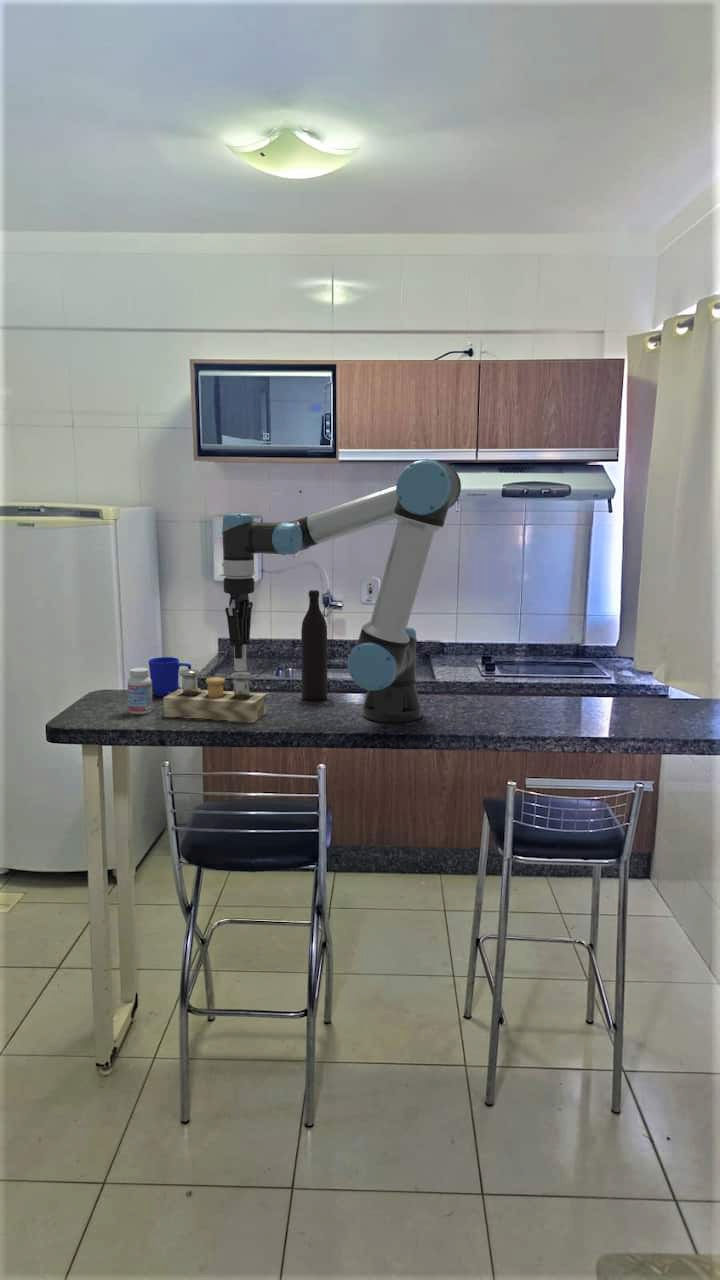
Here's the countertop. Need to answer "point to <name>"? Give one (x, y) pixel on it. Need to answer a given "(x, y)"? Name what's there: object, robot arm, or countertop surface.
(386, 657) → the robot arm
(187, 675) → the salt shaker
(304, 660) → the wine bottle
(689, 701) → the countertop surface
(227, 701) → the wooden spice rack
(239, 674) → the glass spice jar
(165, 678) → the mug
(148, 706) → the pill bottle
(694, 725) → the countertop surface
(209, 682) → the tan cylinder
